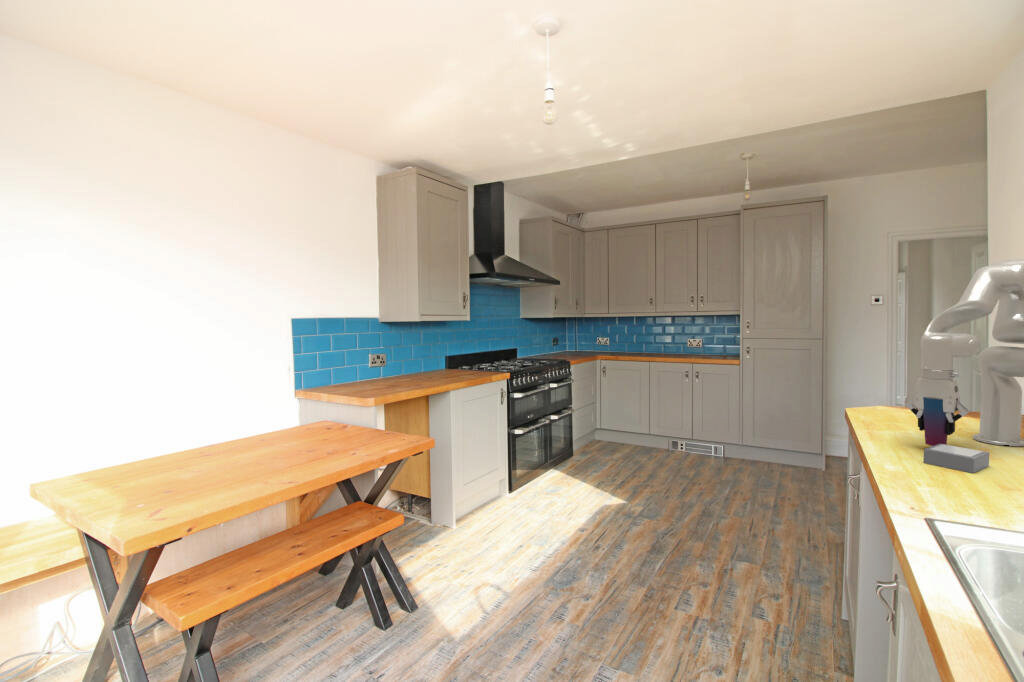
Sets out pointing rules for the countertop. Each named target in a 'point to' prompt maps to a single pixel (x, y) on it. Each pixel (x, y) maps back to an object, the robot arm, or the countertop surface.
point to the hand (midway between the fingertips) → (935, 431)
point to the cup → (934, 422)
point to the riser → (956, 458)
